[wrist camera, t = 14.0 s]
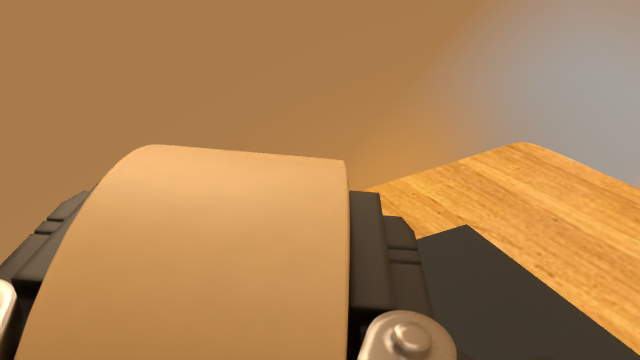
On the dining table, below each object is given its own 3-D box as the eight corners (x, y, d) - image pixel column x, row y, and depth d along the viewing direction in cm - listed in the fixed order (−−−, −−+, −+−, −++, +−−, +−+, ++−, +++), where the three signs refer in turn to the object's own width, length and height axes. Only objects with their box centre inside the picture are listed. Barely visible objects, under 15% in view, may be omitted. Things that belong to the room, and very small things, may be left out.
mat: (281, 285, 37) (282, 280, 37) (465, 228, 46) (466, 223, 45) (484, 601, 20) (488, 596, 20) (709, 417, 29) (714, 411, 29)
